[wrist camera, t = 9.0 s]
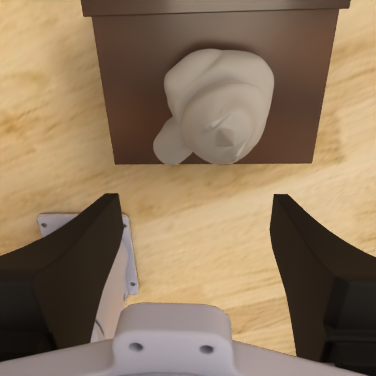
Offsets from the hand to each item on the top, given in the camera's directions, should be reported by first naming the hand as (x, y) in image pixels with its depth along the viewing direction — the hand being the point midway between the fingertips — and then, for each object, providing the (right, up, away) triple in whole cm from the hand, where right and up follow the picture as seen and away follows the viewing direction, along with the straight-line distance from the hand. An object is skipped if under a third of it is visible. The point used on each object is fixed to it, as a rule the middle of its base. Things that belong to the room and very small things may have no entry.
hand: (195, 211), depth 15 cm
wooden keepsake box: (+1, +9, +7) cm, 11 cm away
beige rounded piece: (+1, +6, +3) cm, 7 cm away
